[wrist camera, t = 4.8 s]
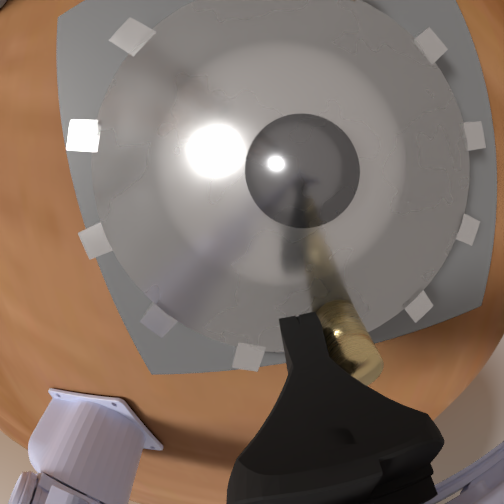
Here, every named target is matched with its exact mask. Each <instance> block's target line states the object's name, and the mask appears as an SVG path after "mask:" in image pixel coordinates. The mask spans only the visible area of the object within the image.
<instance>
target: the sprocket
mask: <svg viewBox="0 0 504 504" xmlns="http://www.w3.org/2000/svg"><path fill="white" fill-rule="evenodd" d="M109 41H110V42H112V43H113V44H115V45H117V46H118V47H120V48H121V49H123V50H124V51H126V52H127V53H129V55H128V56H127V57H126V59H125V60H124V61H123V63H122V64H121V66H120V68H119V69H118V71H117V73H116V74H115V76H114V78H113V80H112V81H111V83H110V85H109V87H108V90H107V92H106V95H105V97H104V100H103V102H102V105H101V107H100V110H99V114H98V118H97V120H71V122H70V128H69V134H68V141H67V149H66V150H74V151H87V152H92V157H91V169H92V186H93V192H94V197H95V202H96V207H97V212H98V215H99V218H100V221H99V222H97V223H95V224H93V225H91V226H89V227H88V228H86V229H84V230H82V231H81V232H79V233H78V234H79V237H80V239H81V241H82V244H83V246H84V248H85V251H86V253H87V255H88V257H89V259H92V258H95V257H98V256H100V255H103V254H105V253H108V252H110V251H113V252H114V253H115V255H116V257H117V259H118V261H119V262H120V264H121V265H122V267H123V268H124V269H125V271H126V272H127V274H128V275H129V277H130V278H131V279H132V281H133V282H134V283H135V284H136V285H137V286H138V287H139V288H140V290H141V291H142V292H143V293H144V294H145V295H146V296H147V297H148V298H149V299H150V300H151V301H152V303H151V305H150V306H149V307H148V309H147V310H146V312H145V314H144V315H143V317H142V319H141V320H140V322H141V323H142V324H143V325H145V326H146V327H147V328H149V329H150V330H151V331H153V332H154V333H156V334H157V335H158V336H160V337H161V338H162V337H163V336H164V335H165V334H166V333H167V332H168V331H169V330H170V329H171V328H172V327H173V326H174V325H175V324H176V323H177V322H180V323H181V324H183V325H184V326H186V327H188V328H190V329H192V330H194V331H196V332H198V333H200V334H202V335H204V336H206V337H209V338H211V339H214V340H217V341H220V342H222V343H225V344H228V345H232V346H234V350H233V360H232V368H238V369H244V370H250V371H257V372H258V369H259V366H260V364H261V361H262V358H263V355H264V352H265V351H266V352H284V347H283V341H282V336H281V330H280V324H279V319H280V318H285V317H290V316H296V317H298V316H299V315H301V314H306V313H311V312H316V314H317V316H318V317H319V319H320V321H321V325H322V329H323V333H324V337H325V341H326V345H327V349H328V353H329V357H330V358H331V359H332V360H333V361H334V362H336V363H337V364H338V365H339V366H340V367H341V368H343V369H344V370H345V371H346V372H348V373H349V374H350V375H351V376H353V377H354V378H356V379H357V380H358V381H360V382H361V383H363V384H364V385H366V386H368V385H369V384H371V383H372V382H374V381H375V380H376V379H377V378H378V377H379V375H380V374H381V372H382V370H383V365H384V364H383V360H382V358H381V356H380V354H379V352H378V350H377V348H376V346H375V344H374V343H373V341H372V339H371V337H370V335H369V333H368V332H370V331H372V330H373V329H375V328H377V327H379V326H381V325H382V324H384V323H385V322H387V321H388V320H390V319H391V318H393V317H394V316H396V315H397V314H398V313H400V312H401V311H402V310H403V309H405V310H406V312H407V313H408V314H409V315H410V317H411V318H412V319H413V321H414V322H415V323H416V322H417V321H418V320H419V319H421V318H422V317H423V316H424V315H425V314H426V313H427V312H428V311H429V310H430V309H431V308H432V307H433V304H432V303H431V301H430V300H429V298H428V296H427V295H426V293H425V292H424V289H425V288H426V287H427V286H428V284H429V283H430V282H431V281H432V279H433V278H434V276H435V275H436V274H437V272H438V271H439V269H440V268H441V267H442V265H443V263H444V261H445V260H446V258H447V256H448V254H449V252H450V250H451V249H452V247H453V244H454V242H455V239H457V240H459V241H462V242H464V243H466V244H469V245H471V246H472V244H473V242H474V239H475V236H476V233H477V230H478V227H479V224H480V221H478V220H476V219H474V218H472V217H470V216H469V215H467V214H465V213H464V212H465V208H466V203H467V197H468V189H469V174H470V160H469V151H470V150H476V149H482V148H486V145H485V139H484V133H483V127H482V122H481V121H463V119H462V115H461V112H460V110H459V107H458V104H457V102H456V99H455V97H454V94H453V92H452V90H451V88H450V86H449V84H448V82H447V81H446V79H445V77H444V75H443V73H442V72H441V70H440V69H439V67H438V66H437V64H436V63H435V62H436V61H437V60H438V59H439V58H440V57H441V56H442V55H443V54H444V53H445V52H446V51H447V50H448V49H447V48H446V46H445V45H444V44H443V43H442V41H441V40H440V39H439V38H438V37H437V35H436V34H435V33H434V32H433V31H432V30H431V28H430V27H428V28H426V29H425V30H423V31H421V32H419V33H417V34H416V35H414V36H412V35H411V34H410V33H409V32H408V31H407V30H405V29H404V28H403V27H402V26H401V25H399V24H398V23H397V22H396V21H394V20H393V19H392V18H390V17H389V16H388V15H386V14H384V13H383V12H381V11H380V10H378V9H376V8H375V7H373V6H371V5H369V4H368V3H366V2H364V1H361V0H195V1H193V2H191V3H189V4H187V5H185V6H183V7H181V8H180V9H178V10H177V11H175V12H174V13H172V14H171V15H169V16H168V17H167V18H165V19H164V20H162V21H161V22H160V23H158V24H157V25H156V26H155V27H154V28H153V29H151V28H149V27H147V26H145V25H144V24H142V23H140V22H138V21H136V20H135V19H133V18H131V17H130V18H129V19H128V20H127V21H126V22H125V23H124V24H123V25H122V26H121V27H120V28H119V29H118V30H117V31H116V32H115V34H114V35H113V36H112V37H111V38H110V39H109Z"/></svg>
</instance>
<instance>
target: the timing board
mask: <svg viewBox="0 0 504 504" xmlns="http://www.w3.org/2000/svg"><path fill="white" fill-rule="evenodd" d="M193 1H195V0H85V1H83V2H81V3H80V4H78V5H76V6H75V7H73V8H72V9H70V10H68V11H67V12H65V13H64V14H62V15H61V16H59V17H58V24H57V82H58V96H59V106H60V115H61V122H62V129H63V136H64V142H65V147H66V149H67V141H68V134H69V128H70V122H71V120H97V118H98V114H99V110H100V107H101V105H102V102H103V100H104V97H105V95H106V92H107V90H108V87H109V85H110V83H111V81H112V80H113V78H114V76H115V74H116V73H117V71H118V69H119V68H120V66H121V64H122V63H123V61H124V60H125V59H126V57H127V56H128V55H129V53H127V52H126V51H124V50H123V49H121V48H120V47H118V46H117V45H115V44H113V43H112V42H110V41H109V39H110V38H111V37H112V36H113V35H114V34H115V32H116V31H117V30H118V29H119V28H120V27H121V26H122V25H123V24H124V23H125V22H126V21H127V20H128V19H129V18H130V17H131V18H133V19H135V20H136V21H138V22H140V23H142V24H144V25H145V26H147V27H149V28H151V29H153V28H154V27H155V26H156V25H157V24H158V23H160V22H161V21H162V20H164V19H165V18H167V17H168V16H169V15H171V14H172V13H174V12H175V11H177V10H178V9H180V8H181V7H183V6H185V5H187V4H189V3H191V2H193ZM361 1H364V2H366V3H368V4H369V5H371V6H373V7H375V8H376V9H378V10H380V11H381V12H383V13H384V14H386V15H388V16H389V17H390V18H392V19H393V20H394V21H396V22H397V23H398V24H399V25H401V26H402V27H403V28H404V29H405V30H407V31H408V32H409V33H410V34H411V35H412V36H414V35H416V34H417V33H419V32H421V31H423V30H425V29H426V28H428V27H430V28H431V30H432V31H433V32H434V33H435V34H436V35H437V37H438V38H439V39H440V40H441V41H442V43H443V44H444V45H445V46H446V48H447V49H448V50H447V51H446V52H445V53H444V54H443V55H442V56H441V57H440V58H439V59H438V60H437V61H436V62H435V63H436V64H437V66H438V67H439V69H440V70H441V72H442V73H443V75H444V77H445V79H446V81H447V82H448V84H449V86H450V88H451V90H452V92H453V94H454V97H455V99H456V102H457V104H458V107H459V110H460V112H461V115H462V119H463V121H481V122H482V127H483V133H484V139H485V145H486V148H482V149H476V150H470V151H469V160H470V174H469V189H468V197H467V203H466V208H465V212H464V213H465V214H467V215H469V216H470V217H472V218H474V219H476V220H478V221H480V224H479V227H478V230H477V233H476V236H475V239H474V242H473V244H472V246H471V245H469V244H466V243H464V242H462V241H459V240H457V239H455V242H454V244H453V247H452V249H451V250H450V252H449V254H448V256H447V258H446V260H445V261H444V263H443V265H442V267H441V268H440V269H439V271H438V272H437V274H436V275H435V276H434V278H433V279H432V281H431V282H430V283H429V284H428V286H427V287H426V288H425V289H424V292H425V293H426V295H427V296H428V298H429V300H430V301H431V303H432V304H433V307H432V308H431V309H430V310H429V311H428V312H427V313H426V314H425V315H424V316H423V317H422V318H421V319H419V320H418V321H417V322H416V323H415V322H414V321H413V319H412V318H411V317H410V315H409V314H408V313H407V312H406V310H405V309H403V310H402V311H401V312H400V313H398V314H397V315H396V316H394V317H393V318H391V319H390V320H388V321H387V322H385V323H384V324H382V325H381V326H379V327H377V328H375V329H373V330H372V331H370V332H368V333H369V335H370V337H371V339H372V341H373V343H374V344H375V343H378V342H382V341H385V340H389V339H392V338H396V337H399V336H402V335H405V334H408V333H411V332H414V331H417V330H420V329H423V328H426V327H429V326H432V325H435V324H437V323H440V322H443V321H445V320H448V319H451V318H453V317H456V316H458V315H461V314H463V313H466V312H468V311H470V310H473V309H475V308H477V307H479V306H481V305H482V301H483V297H484V292H485V288H486V283H487V278H488V273H489V268H490V262H491V256H492V249H493V241H494V232H495V221H496V204H497V166H496V150H495V139H494V130H493V122H492V116H491V109H490V104H489V99H488V94H487V89H486V85H485V81H484V77H483V73H482V69H481V66H480V62H479V59H478V56H477V52H476V49H475V46H474V43H473V41H472V38H471V35H470V32H469V30H468V27H467V25H466V22H465V20H464V18H463V15H462V13H461V11H460V9H459V7H458V4H457V2H456V0H361ZM66 153H67V158H68V163H69V168H70V172H71V176H72V181H73V185H74V189H75V193H76V197H77V200H78V204H79V207H80V211H81V214H82V218H83V221H84V224H85V227H86V228H88V227H89V226H91V225H93V224H95V223H97V222H99V221H100V218H99V215H98V212H97V207H96V202H95V197H94V192H93V186H92V169H91V157H92V152H87V151H74V150H66ZM96 259H97V262H98V264H99V267H100V270H101V272H102V275H103V277H104V280H105V282H106V285H107V287H108V289H109V292H110V294H111V296H112V298H113V301H114V303H115V305H116V307H117V310H118V312H119V314H120V316H121V318H122V320H123V322H124V324H125V326H126V328H127V330H128V332H129V334H130V336H131V338H132V340H133V342H134V344H135V346H136V348H137V349H138V351H139V353H140V355H141V357H142V359H143V360H144V362H145V364H146V366H147V367H148V369H149V371H150V372H151V374H185V373H203V372H216V371H227V370H237V369H238V368H232V360H233V350H234V346H232V345H228V344H225V343H222V342H220V341H217V340H214V339H211V338H209V337H206V336H204V335H202V334H200V333H198V332H196V331H194V330H192V329H190V328H188V327H186V326H184V325H183V324H181V323H180V322H177V323H176V324H175V325H174V326H173V327H172V328H171V329H170V330H169V331H168V332H167V333H166V334H165V335H164V336H163V337H162V338H161V337H160V336H158V335H157V334H156V333H154V332H153V331H151V330H150V329H149V328H147V327H146V326H145V325H143V324H142V323H141V322H140V320H141V319H142V317H143V315H144V314H145V312H146V310H147V309H148V307H149V306H150V305H151V303H152V301H151V300H150V299H149V298H148V297H147V296H146V295H145V294H144V293H143V292H142V291H141V290H140V288H139V287H138V286H137V285H136V284H135V283H134V282H133V281H132V279H131V278H130V277H129V275H128V274H127V272H126V271H125V269H124V268H123V267H122V265H121V264H120V262H119V261H118V259H117V257H116V255H115V253H114V252H113V251H110V252H108V253H105V254H103V255H100V256H98V257H96ZM282 363H286V358H285V353H284V352H266V351H265V352H264V355H263V358H262V361H261V364H260V366H259V367H261V366H268V365H275V364H282Z"/></svg>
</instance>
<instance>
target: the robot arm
mask: <svg viewBox="0 0 504 504" xmlns="http://www.w3.org/2000/svg"><path fill="white" fill-rule="evenodd" d="M279 324H280V330H281V336H282V341H283V347H284V353H285V358H286V364H287V370H288V377H287V379H286V382H285V384H284V387H283V389H282V391H281V393H280V396H279V398H278V400H277V402H276V404H275V406H274V407H273V409H272V411H271V413H270V414H269V416H268V418H267V419H266V421H265V422H264V424H263V425H262V427H261V428H260V430H259V431H258V433H257V434H256V436H255V437H254V438H253V439H252V441H251V442H250V443H249V444H248V446H247V447H246V448H245V449H244V450H243V452H242V453H241V454H240V455H239V456H238V458H237V459H236V462H235V464H234V467H233V470H232V473H231V476H230V479H229V483H228V489H227V504H436V503H438V502H440V501H442V500H444V499H446V498H447V497H449V496H451V495H453V494H454V493H456V492H458V491H459V490H461V489H462V491H461V493H460V495H459V496H457V497H456V498H454V499H452V500H451V501H449V502H447V503H446V504H504V441H503V442H502V443H500V444H499V445H498V446H496V447H495V448H494V449H492V450H491V451H490V452H488V453H487V454H485V455H484V456H483V457H481V458H480V459H478V460H477V461H475V462H474V463H472V464H471V465H469V466H468V467H466V468H464V469H463V470H461V471H459V472H458V473H456V474H454V475H452V476H451V477H449V478H447V479H446V480H443V481H442V482H440V483H438V484H436V485H434V483H433V481H432V478H431V475H432V474H433V469H432V467H431V464H430V463H431V461H432V460H433V459H434V458H435V457H436V456H437V454H438V453H439V452H440V450H441V449H442V447H443V445H444V439H443V437H442V435H441V433H440V431H439V429H438V428H437V426H436V425H435V423H434V422H433V421H432V419H431V418H430V417H429V415H428V414H426V413H423V412H420V411H418V410H415V409H412V408H409V407H407V406H404V405H402V404H399V403H397V402H395V401H393V400H391V399H389V398H387V397H385V396H383V395H381V394H380V393H378V392H376V391H374V390H373V389H371V388H369V387H368V386H366V385H364V384H363V383H361V382H360V381H358V380H357V379H356V378H354V377H353V376H351V375H350V374H349V373H348V372H346V371H345V370H344V369H343V368H341V367H340V366H339V365H338V364H337V363H336V362H334V361H333V360H332V359H331V358H330V357H329V353H328V349H327V345H326V341H325V337H324V333H323V329H322V325H321V321H320V319H319V317H318V316H317V314H316V312H311V313H306V314H301V315H299V316H298V317H296V316H290V317H285V318H280V319H279ZM48 392H49V394H50V395H51V396H52V397H53V399H52V400H51V402H50V403H49V405H48V407H47V409H46V410H45V412H44V414H43V415H42V417H41V419H40V421H39V422H38V424H37V426H36V428H35V430H34V431H33V433H32V435H31V437H30V440H29V444H28V454H29V459H30V462H31V464H32V465H33V467H34V469H35V470H36V471H37V472H38V473H37V474H34V473H33V472H31V471H29V472H22V473H21V475H20V477H19V479H18V480H17V482H16V485H15V487H14V489H13V492H12V494H11V497H10V499H9V502H8V504H128V501H129V498H130V494H131V490H132V486H133V482H134V479H135V475H136V471H137V468H138V464H139V461H140V457H141V454H142V450H143V448H144V449H152V450H163V445H162V444H161V443H160V442H159V441H158V440H157V439H156V438H155V437H154V436H153V434H152V433H151V432H150V431H149V430H148V429H147V428H146V426H145V425H144V424H143V423H142V422H141V421H140V419H139V418H138V417H137V416H136V414H135V413H134V412H133V411H132V409H131V408H130V407H129V406H128V404H127V403H126V402H125V401H124V400H123V399H121V398H114V397H104V396H96V395H88V394H81V393H75V392H69V391H63V390H58V389H53V388H50V389H49V391H48Z"/></svg>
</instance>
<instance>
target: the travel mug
mask: <svg viewBox="0 0 504 504" xmlns="http://www.w3.org/2000/svg"><path fill="white" fill-rule="evenodd" d="M6 1H7V0H0V8H1V7H2V6H3V5H4V4H5V2H6Z"/></svg>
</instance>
